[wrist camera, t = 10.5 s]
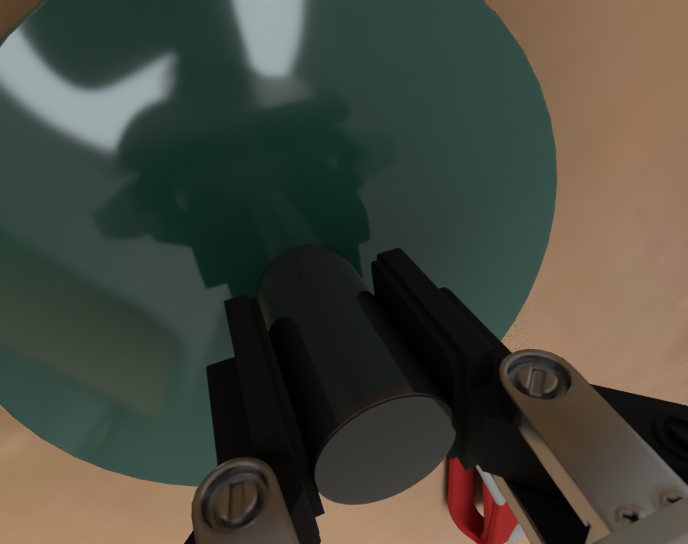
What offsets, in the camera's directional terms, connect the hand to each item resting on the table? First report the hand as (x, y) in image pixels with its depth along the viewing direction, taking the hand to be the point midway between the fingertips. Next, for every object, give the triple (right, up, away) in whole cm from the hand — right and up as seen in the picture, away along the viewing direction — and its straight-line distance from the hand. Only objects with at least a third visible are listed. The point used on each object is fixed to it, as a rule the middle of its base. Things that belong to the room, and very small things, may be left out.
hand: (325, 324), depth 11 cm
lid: (-1, +1, +2) cm, 2 cm away
